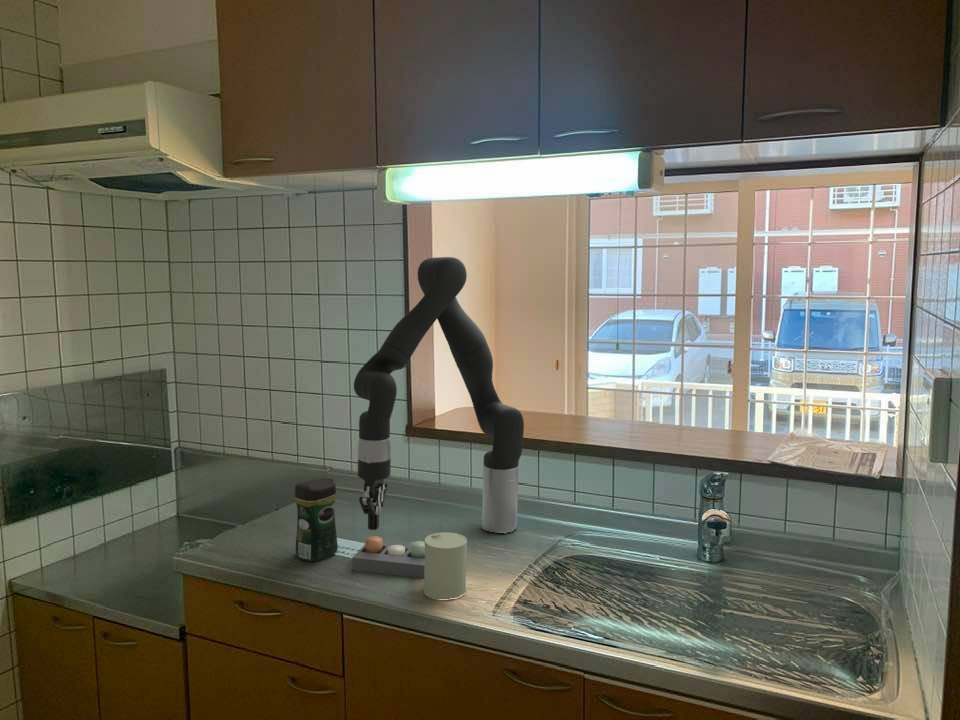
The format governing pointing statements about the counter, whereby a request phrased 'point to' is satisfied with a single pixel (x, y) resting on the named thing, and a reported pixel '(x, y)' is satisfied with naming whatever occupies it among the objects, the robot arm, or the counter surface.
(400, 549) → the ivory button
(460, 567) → the can
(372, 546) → the terracotta button
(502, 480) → the robot arm
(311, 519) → the coffee jar
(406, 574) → the button panel
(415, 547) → the sage button
